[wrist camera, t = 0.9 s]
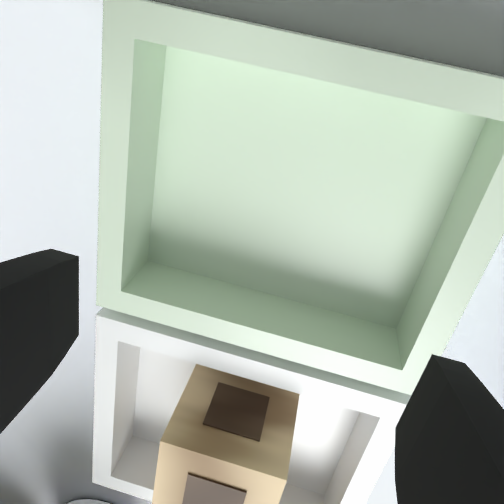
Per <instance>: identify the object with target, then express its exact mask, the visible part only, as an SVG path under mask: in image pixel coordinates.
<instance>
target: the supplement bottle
mask: <svg viewBox="0 0 504 504" xmlns="http://www.w3.org/2000/svg"><path fill="white" fill-rule="evenodd" d="M67 504H110V503H107V502H103V501H99V500H92V499H81V500H75V501H72V502H69V503H67Z"/></svg>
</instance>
